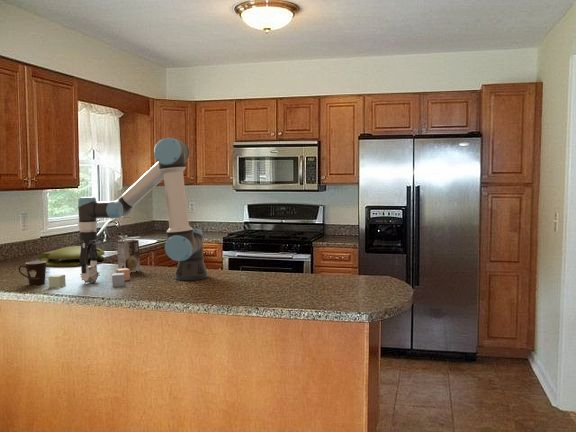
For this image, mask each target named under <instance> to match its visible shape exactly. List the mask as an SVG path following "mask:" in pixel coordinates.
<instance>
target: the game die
mask: <svg viewBox="0 0 576 432" xmlns="http://www.w3.org/2000/svg"><path fill="white" fill-rule="evenodd" d="M95 267H96V265H95ZM95 267H91V266H88V280H83V281H84V285H86V284H89V283H95V284H97V283H98V282H97V280H98V277H100V276H101V275H100V272H99V271H98V269H97V270H96V268H95ZM79 275H80V276H81V273H80V274H79Z"/></svg>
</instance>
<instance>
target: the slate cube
mask: <svg viewBox="0 0 576 432" xmlns="http://www.w3.org/2000/svg"><path fill="white" fill-rule="evenodd" d="M111 280H112V281H111V282H112V287H123V286H125V280H124V273H116V272H115V273H112V274H111Z"/></svg>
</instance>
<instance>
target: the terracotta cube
mask: <svg viewBox="0 0 576 432" xmlns="http://www.w3.org/2000/svg"><path fill="white" fill-rule="evenodd" d="M115 273H124V281H130V280H131V273H130V269H128V268H122V269H118V268H115Z"/></svg>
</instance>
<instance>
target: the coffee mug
mask: <svg viewBox="0 0 576 432" xmlns="http://www.w3.org/2000/svg"><path fill="white" fill-rule="evenodd" d="M21 268H25V269H26V273H27V275H26V274H24V273H23V272H21ZM17 270H18V272H19V273H20V274H21V275H22V276H23V277H25V278H26V279H28V284H29V286H32V285H35V286H41V285H40V284H42V285H45V284H46V272H47V267H46V261H40V260H37V261H36V260H35V261H28V262H25V265H23V264H22V265H20V266H19V267H18V269H17ZM44 283H45V284H44Z"/></svg>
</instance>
